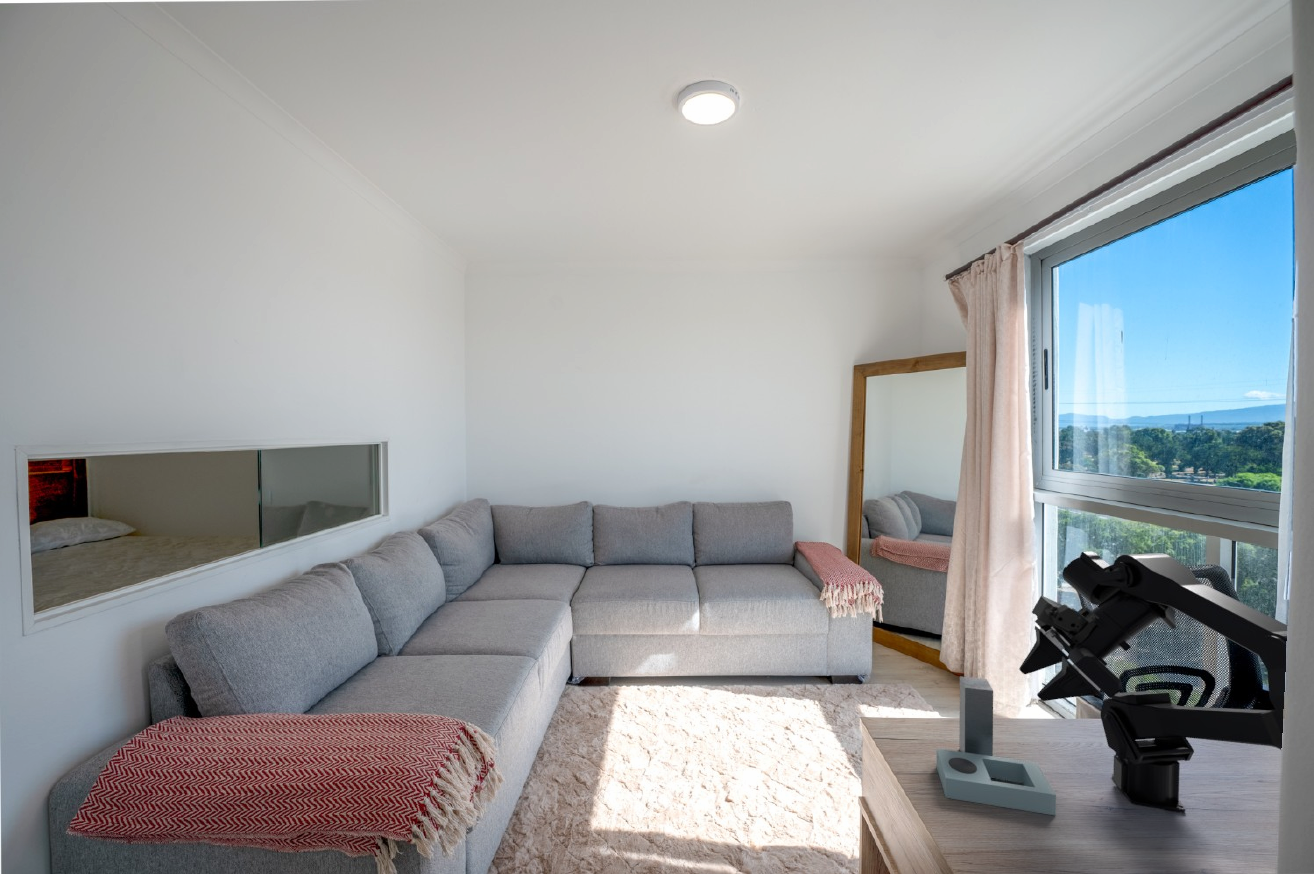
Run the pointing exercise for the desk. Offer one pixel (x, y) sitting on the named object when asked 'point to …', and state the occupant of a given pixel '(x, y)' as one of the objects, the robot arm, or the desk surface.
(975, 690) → the square bit
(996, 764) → the socket block
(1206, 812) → the desk surface
